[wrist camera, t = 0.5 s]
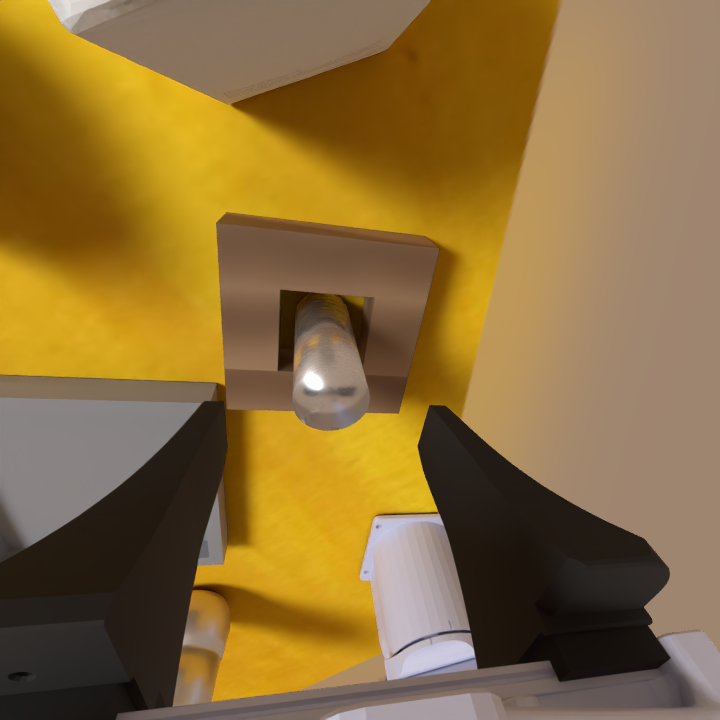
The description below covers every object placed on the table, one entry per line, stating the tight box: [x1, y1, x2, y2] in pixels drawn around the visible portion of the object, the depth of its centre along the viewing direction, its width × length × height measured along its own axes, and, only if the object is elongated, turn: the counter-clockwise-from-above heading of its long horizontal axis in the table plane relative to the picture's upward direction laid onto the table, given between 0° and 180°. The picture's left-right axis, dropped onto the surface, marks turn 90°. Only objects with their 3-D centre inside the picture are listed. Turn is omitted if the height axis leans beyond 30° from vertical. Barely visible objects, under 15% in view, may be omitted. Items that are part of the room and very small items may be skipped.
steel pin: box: [292, 292, 370, 431], centre depth 18 cm, size 3×3×8 cm
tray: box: [0, 375, 228, 566], centre depth 24 cm, size 16×16×2 cm
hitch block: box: [216, 212, 440, 413], centre depth 20 cm, size 10×10×2 cm
